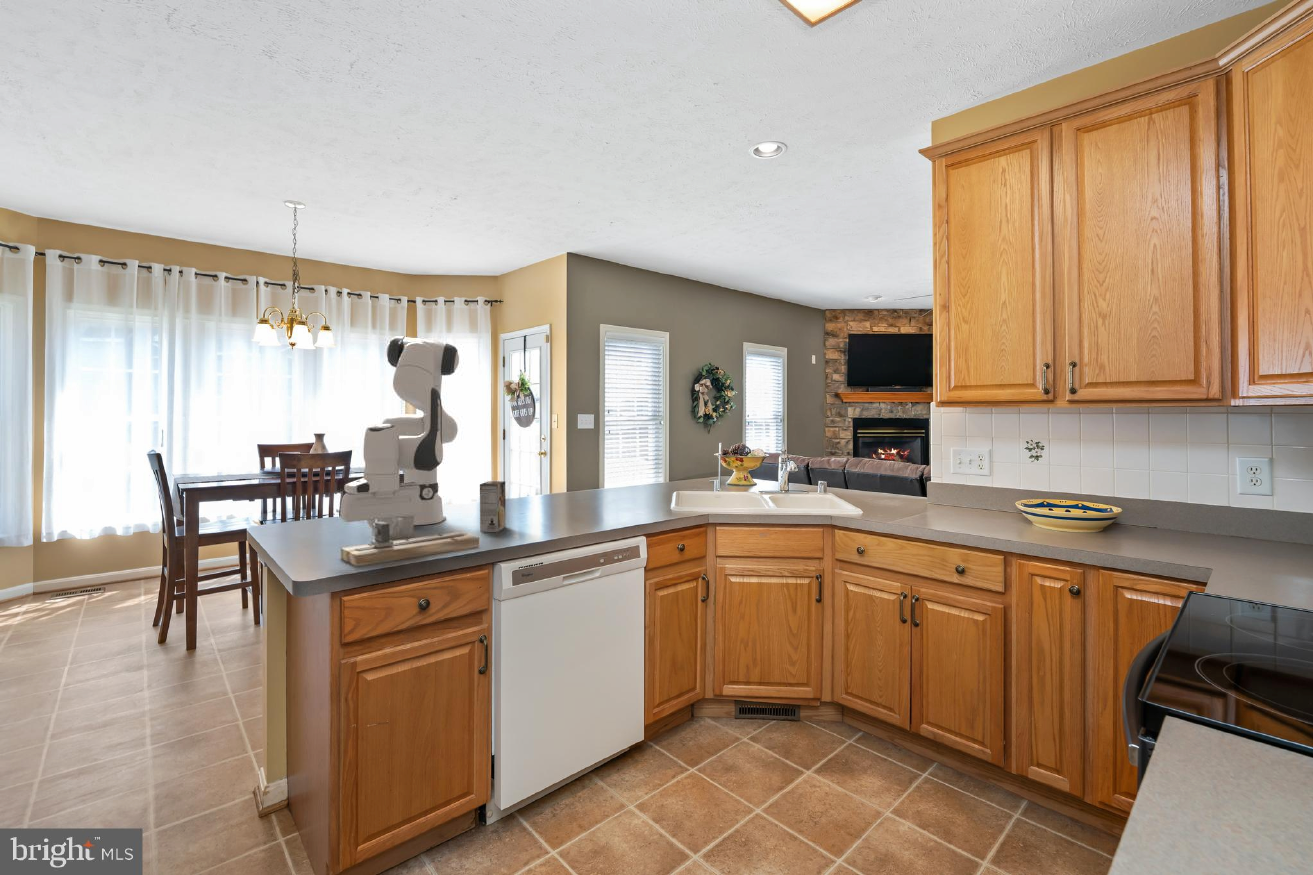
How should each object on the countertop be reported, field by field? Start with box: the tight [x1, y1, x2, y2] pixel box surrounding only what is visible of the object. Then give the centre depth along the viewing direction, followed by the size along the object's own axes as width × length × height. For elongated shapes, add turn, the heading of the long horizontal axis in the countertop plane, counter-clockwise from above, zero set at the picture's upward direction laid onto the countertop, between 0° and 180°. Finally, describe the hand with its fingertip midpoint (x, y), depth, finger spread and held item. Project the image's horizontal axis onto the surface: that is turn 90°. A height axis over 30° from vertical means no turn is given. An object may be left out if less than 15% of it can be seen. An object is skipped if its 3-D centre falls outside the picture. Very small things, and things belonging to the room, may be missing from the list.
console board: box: [340, 531, 480, 567], centre depth 170 cm, size 12×34×3 cm, turn 135°
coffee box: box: [479, 480, 507, 533], centre depth 205 cm, size 9×6×16 cm
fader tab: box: [370, 521, 393, 547], centre depth 164 cm, size 5×4×6 cm
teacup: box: [376, 515, 415, 541], centre depth 186 cm, size 14×11×8 cm
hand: (382, 534), depth 164 cm, fingers closed on fader tab, 2 cm apart
